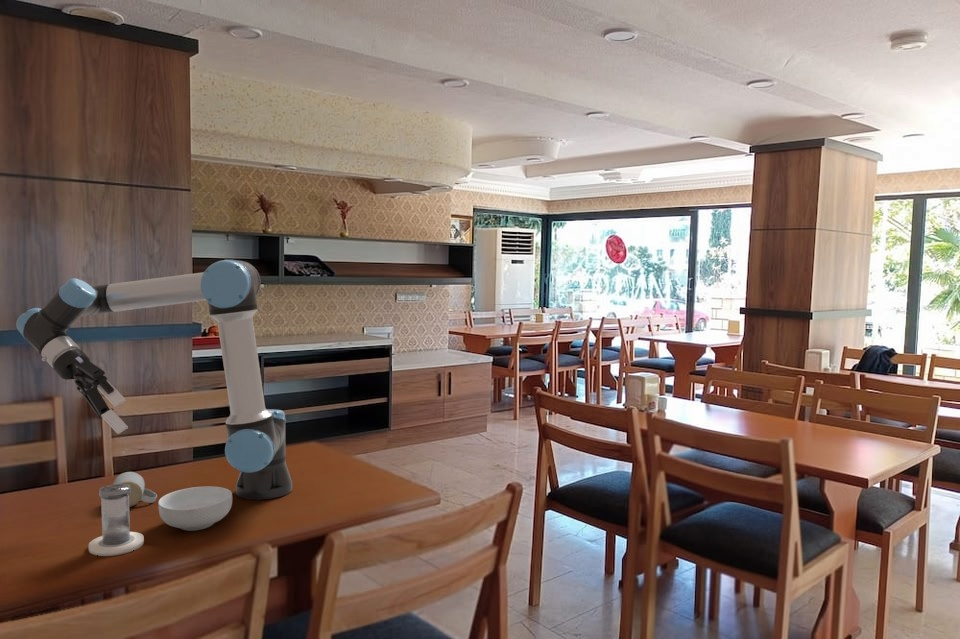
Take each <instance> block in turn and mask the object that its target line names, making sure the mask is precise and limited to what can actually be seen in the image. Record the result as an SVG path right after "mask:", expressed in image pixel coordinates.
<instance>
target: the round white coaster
mask: <svg viewBox="0 0 960 639" xmlns="http://www.w3.org/2000/svg"><path fill="white" fill-rule="evenodd" d="M144 543H145V538H144V535H143V534H142V533H140V532H137V531H130V540H129V541H127V542H125V543H122V544H118V545H105V544H103V541H102V535H101V536H99V537H96V538H94V539H92V540H91V541H90V542H89V543H88V552H89V553H90V554H91V555H94V556H97V555H98V556H99V557H112V556H113V557H115V556H120V555H124V554H128V553H130V552H133V550H134V551H136V550H139V549H140V548H141V547H142V546H143V545H144Z"/></svg>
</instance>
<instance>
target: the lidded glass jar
mask: <svg viewBox="0 0 960 639" xmlns="http://www.w3.org/2000/svg"><path fill="white" fill-rule="evenodd" d="M98 492H99V494H98V495H99V498H100V499H101V501H100V502H101V504H100V505H101V508H100V509H101V529H102V530H101V531H102V532H101V534H102V535H101V536H102V541H103V544H105V545H118V544H122V543H125V542H127V541H129V540H130V532H131V529H130V528H131V526H130V524H131V520H130V519H131V518H130V507H129V494H130V493H131V490H130V485H128V484H107V485H105V486H102V487H100V488H99V489H98Z"/></svg>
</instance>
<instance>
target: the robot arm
mask: <svg viewBox="0 0 960 639" xmlns="http://www.w3.org/2000/svg"><path fill="white" fill-rule="evenodd" d="M261 283H262V282H261V276H260V274H259V272H258V270H257V269H256V268H255V266H253V265H252V264H251V263H250V262H247V261H244V260H239V259H224V260H218V261H216V262H214V263H212V264H211V265H209V266H208V267H207V268H206V269H205V271H203V272H196V273H194V272H193V273H188V274H187V273H186V274H180V275H173V276H172V275H171V276H165V277H157V278H156V277H155V278H148V279H147V278H146V279H141V280H140V279H139V280H133V281H131V280H130V281H124V282H116V283H109V284H100V285H92V286H91V285H90V284H89V283H87V282H86V281H84V280H82V279H79V278H74V277H73V278H70V279H68V280H67V282H65V283H64V284H63V285H62V286H60V288H59V289H58V290H57V292H56V293H55V294H54V295H53V296H52V298H50V299H49V301H48V302H47V303H46V304H45V305H44V307H42V308H39V307H34V308H31V309H28V310H27V311H26V312H24V313H21V315H20V316H19V317H18V318H17V320H16V324H15V326H16V329H17V331H18V332H19V333H20V334H21V336H22V337H23V339H24V340H25V341H26V342H28V344H30V345H31V347H32V348H33V349H35V350H36V352H37V354H39V355H40V357H41V361H43V362H47V364H49V366H50V367H51V368H52V369H53V371H55V373H57V375H58V376H59V377H60V378H61V379H62V380H65V381H66V380H67V381H69V380H74V383H75V385H76V390H77V391H78V392H79V393H80V394H81V395H82V397H83V398H84V399H85V400H86V402H87V404H88V405H89V406H90V408H91V409H92V410H93V412H94V414H95V415H96V416H97V418H98V419H99V420H101V419H103V420H104V421H105V422H106V423H107V424H108V426H110V427H111V428H112V430H113V431H114V432H115V433H116V434H117V435H120V434H121V433H123V432H124V431H126V430H127V429H129V426H128V425H127V424H126V422H125V421H124V420H122V419H121V417H119V415H118V414H117V413H116V412H115V410H114V408H116V407H119V406H120V405H121V404H123V403H125V402H126V401H127V400H126V398H125V397H124V396H123V395H122V394H121V392H119V390H118V389H116V388H115V386H114V385H113V384H112V383H111V382H110V381H109V380H108V377H107V376H106V375H105V374H106V372H105V371H104V370H103V369H102V368H100V367H99V366H97V365H96V364H94V363H93V362H91V359H90V357H89V356H88V355H87V354H86V353H85V352H84V351H83V350H82V349H81V348H80V347H79V345H78V344H77V343H76V342H75V341H74V340H73V339H72V338H71V337H70V336H69V335H68V334H67V333H66V332H67V331H68V330H69V329H70V327H71V326H73V325H74V324H75V322H76V321H77V320H78V319H79V318H81V317H87V316H93V315H103V314H107V313H108V314H109V313H115V312H124V311H129V310H132V311H133V310H138V309H139V310H140V309H148V308H154V307H155V308H156V307H164V306H171V305H179V304H186V303H194V302H202V301H203V302H204V301H206V302H207V305H208V310H209V311H208V312H209V316H210V317H211V318H212V319H213V320H214V321H216V322H217V328H218V337H219V343H220V349H221V356H222V363H223V369H224V377H225V384H226V390H227V391H226V392H227V398H228V405H229V412H230V414H229V416H228V417H227V419H226V420H225V427H226V433H227V434H226V435H227V440H226V443H225V447H224V454H225V457H226V461H227V462H228V464H229V465H230V467H232V468H234V469H235V470H237V471H239V475H238V478H237V481H236V483H235V495H236V496H237V497H239V498H240V499H245V500H257V501H258V500H269V499H276V498H280V497H283V496H286V495H288V494H289V493H291V492H292V491H293V481H292V478H291V474H290V470H289V469H288V466H287V463H286V424H287V423H286V422H287V419H286V413H285V412H284V411H283V410H282V409H267V408H266V405H265V404H266V403H265V397H264V389H263V383H262V382H263V381H262V375H261V369H260V361H259V355H258V354H259V353H258V347H257V340H256V334H255V325H254V319H253V317H254V315H255V314H256V313H257V312H258V311H259V309H258V303H257V295H258V293H259V291H260V289H261ZM101 394H102V395H103V396H104V397H105V398H106V399H107V400H108V402H110V403H111V405H112V406H113V407H114V408H112V407H111V408H109V406H108V404H107V403H106V400H104V398H103V396H102V395H101Z"/></svg>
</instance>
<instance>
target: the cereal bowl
mask: <svg viewBox="0 0 960 639" xmlns="http://www.w3.org/2000/svg"><path fill="white" fill-rule="evenodd" d="M157 504H158V505H157V506H158V514H159V516H160V519H161V520H162V521H163V522H164V524H166V525H168V526H170V527H173V528H177V529H181V530H183V531H189V532H190V531H201V530H204V529H207V528H210V527H211V526H213V525H214V524H215V523H217V522H220V521H221V520H222V519H224V518H225V517H226V516H227V515H228V514H229V512H230V510H231V509H232V505H233V492H232V491H231V490H230V489H228V488H226V487H222V486H211V485H210V486H208V485H207V486H205V485H204V486H196V487H195V486H194V487H193V486H192V487H188V488H183V489H179V490H175V491H172V492H169V493H167V494H165V495H163V496H162V497H160V499H158V502H157Z"/></svg>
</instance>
